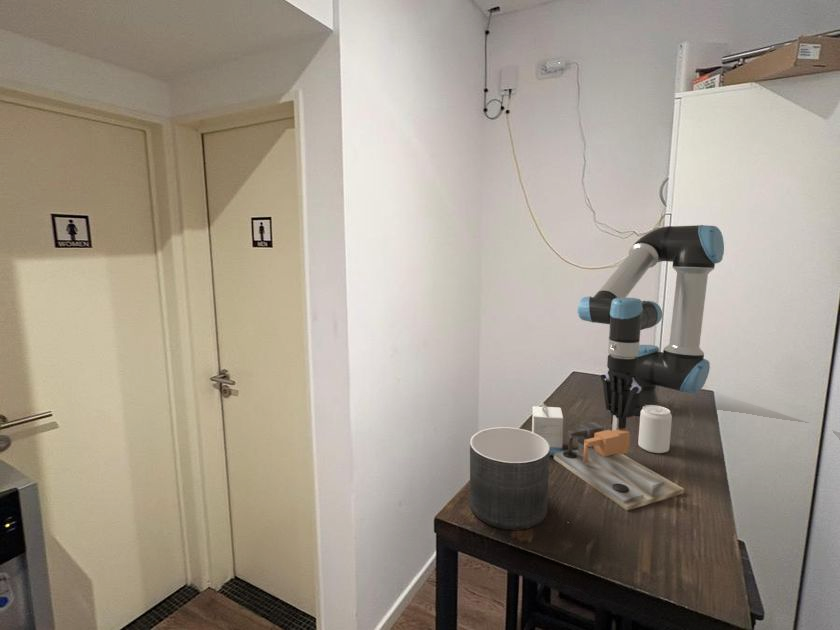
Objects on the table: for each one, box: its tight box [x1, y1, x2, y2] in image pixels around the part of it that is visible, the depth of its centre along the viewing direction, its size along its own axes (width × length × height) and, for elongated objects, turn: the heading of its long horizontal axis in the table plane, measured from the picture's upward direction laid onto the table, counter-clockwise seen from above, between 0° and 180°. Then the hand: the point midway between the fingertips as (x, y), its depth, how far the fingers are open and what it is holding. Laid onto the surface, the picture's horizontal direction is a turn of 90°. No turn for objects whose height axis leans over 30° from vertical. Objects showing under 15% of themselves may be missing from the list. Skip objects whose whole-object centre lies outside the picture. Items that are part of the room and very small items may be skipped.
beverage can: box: [637, 405, 673, 454], centre depth 129 cm, size 8×8×12 cm
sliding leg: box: [583, 428, 631, 463], centre depth 119 cm, size 14×4×7 cm, turn 111°
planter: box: [469, 426, 551, 531], centre depth 102 cm, size 18×18×16 cm
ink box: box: [531, 401, 564, 457], centre depth 130 cm, size 9×8×13 cm
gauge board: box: [553, 421, 685, 512], centre depth 115 cm, size 18×26×9 cm
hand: (617, 437), depth 123 cm, fingers closed
